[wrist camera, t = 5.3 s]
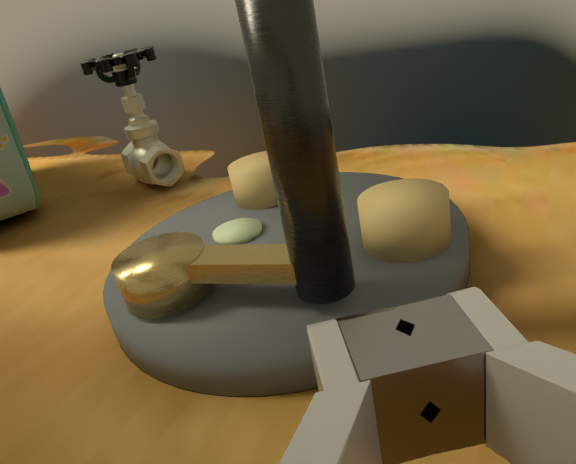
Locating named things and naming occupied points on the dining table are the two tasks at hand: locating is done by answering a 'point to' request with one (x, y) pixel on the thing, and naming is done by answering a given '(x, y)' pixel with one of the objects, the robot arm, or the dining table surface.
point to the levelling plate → (282, 297)
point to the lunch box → (14, 170)
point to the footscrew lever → (286, 177)
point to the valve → (138, 120)
